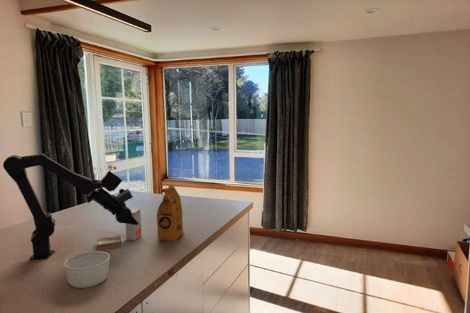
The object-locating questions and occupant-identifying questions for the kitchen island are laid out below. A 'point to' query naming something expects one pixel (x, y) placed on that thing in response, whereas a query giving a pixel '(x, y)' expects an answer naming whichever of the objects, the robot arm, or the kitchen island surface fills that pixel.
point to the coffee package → (170, 215)
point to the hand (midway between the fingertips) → (135, 221)
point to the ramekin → (87, 268)
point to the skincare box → (134, 226)
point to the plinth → (108, 242)
